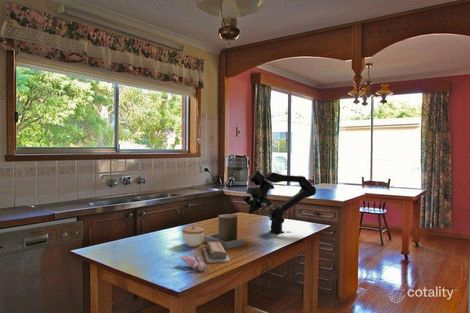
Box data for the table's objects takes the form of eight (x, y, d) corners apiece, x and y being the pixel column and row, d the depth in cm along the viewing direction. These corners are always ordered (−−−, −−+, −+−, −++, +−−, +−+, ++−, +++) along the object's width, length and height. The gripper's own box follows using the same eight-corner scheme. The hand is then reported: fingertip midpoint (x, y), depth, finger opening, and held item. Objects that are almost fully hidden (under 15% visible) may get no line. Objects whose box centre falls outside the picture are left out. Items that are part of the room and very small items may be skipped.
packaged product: (202, 241, 161) (223, 240, 163) (202, 251, 161) (223, 250, 163) (207, 252, 143) (230, 251, 145) (207, 264, 143) (230, 262, 145)
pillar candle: (238, 244, 170) (238, 214, 170) (218, 245, 169) (219, 215, 169) (235, 239, 180) (236, 211, 180) (217, 240, 179) (217, 211, 179)
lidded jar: (194, 240, 177) (195, 222, 177) (208, 244, 170) (208, 226, 169) (177, 244, 170) (177, 225, 170) (190, 249, 162) (191, 229, 162)
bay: (221, 237, 183) (221, 232, 183) (243, 244, 171) (243, 238, 171) (204, 241, 175) (204, 235, 175) (226, 249, 163) (226, 243, 163)
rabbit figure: (211, 273, 136) (185, 259, 145) (213, 258, 135) (187, 245, 144) (201, 277, 131) (174, 262, 140) (203, 263, 130) (176, 249, 139)
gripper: (243, 181, 196) (229, 203, 190) (265, 181, 182) (251, 205, 175) (255, 193, 201) (242, 215, 194) (277, 194, 186) (264, 218, 180)
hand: (249, 213), depth 186 cm, fingers closed
